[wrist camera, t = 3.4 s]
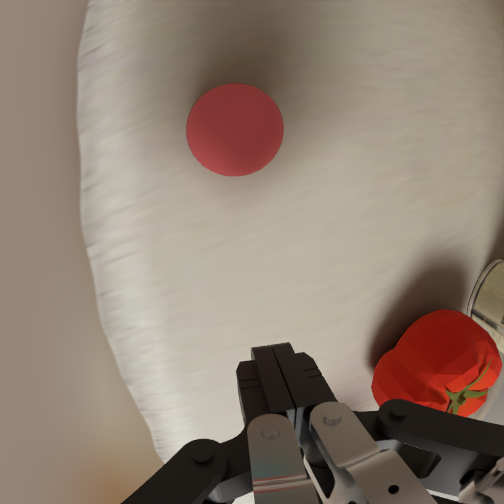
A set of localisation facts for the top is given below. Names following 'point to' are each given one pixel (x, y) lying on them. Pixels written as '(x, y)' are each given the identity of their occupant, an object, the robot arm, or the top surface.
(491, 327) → the coffee can
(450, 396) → the tomato
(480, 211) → the top surface
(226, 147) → the ball
